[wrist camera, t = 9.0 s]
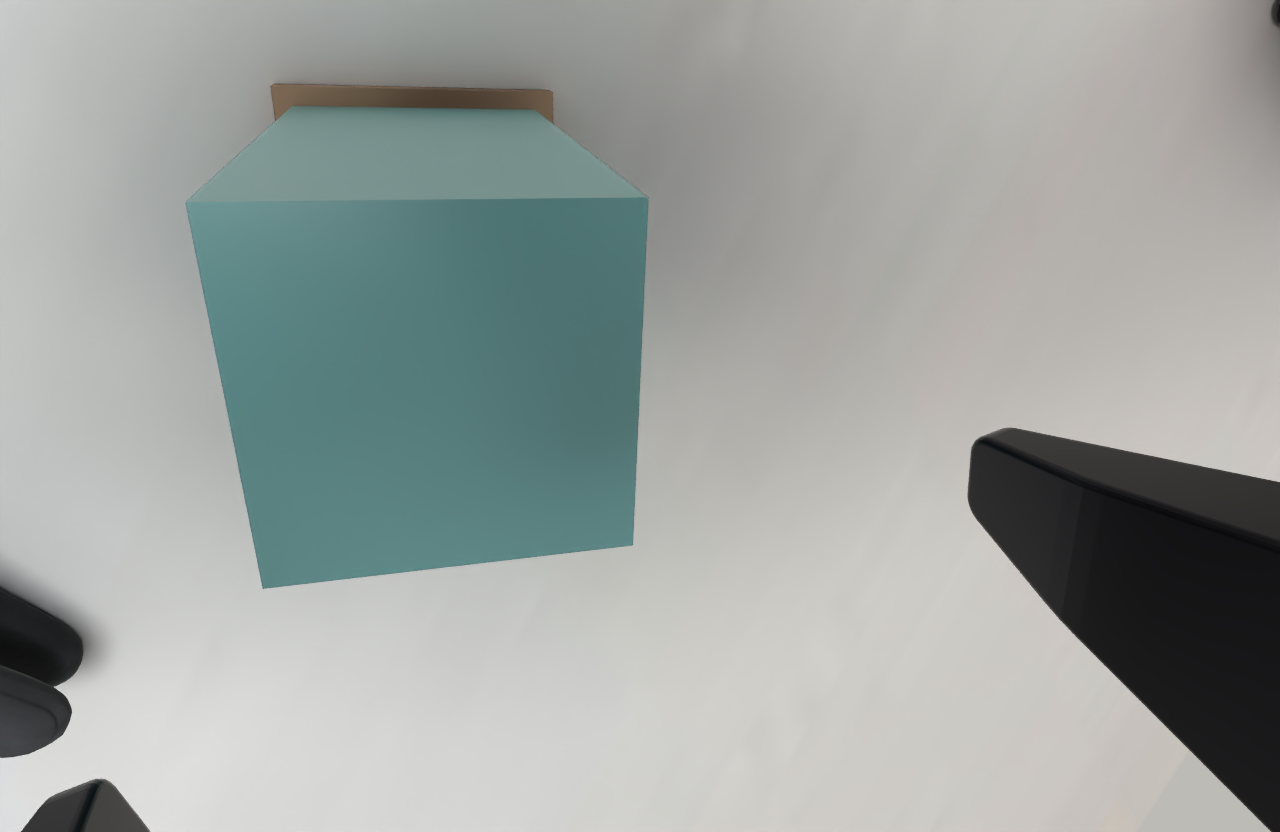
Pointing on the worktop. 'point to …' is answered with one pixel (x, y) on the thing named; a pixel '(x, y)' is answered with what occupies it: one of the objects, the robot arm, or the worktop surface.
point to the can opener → (33, 676)
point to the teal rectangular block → (425, 338)
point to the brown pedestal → (409, 97)
